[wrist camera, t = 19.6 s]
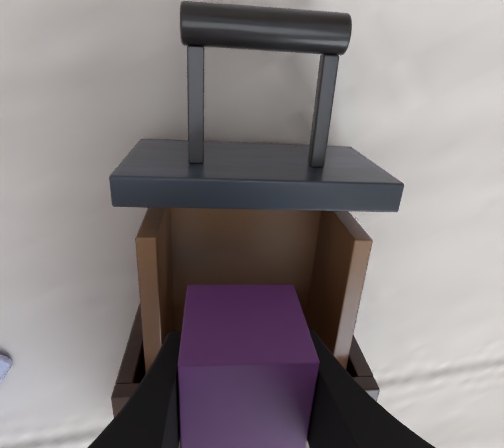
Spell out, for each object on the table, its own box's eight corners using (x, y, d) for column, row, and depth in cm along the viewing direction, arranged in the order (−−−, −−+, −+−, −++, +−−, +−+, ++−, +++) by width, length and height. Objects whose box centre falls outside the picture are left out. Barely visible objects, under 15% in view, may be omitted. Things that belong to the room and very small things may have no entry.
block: (188, 366, 16) (180, 461, 12) (187, 283, 14) (177, 365, 10) (284, 363, 16) (304, 455, 12) (294, 283, 14) (320, 362, 11)
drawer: (132, 7, 17) (88, -15, 11) (371, 25, 18) (445, 12, 12) (152, 336, 24) (133, 424, 18) (320, 333, 25) (351, 416, 19)
